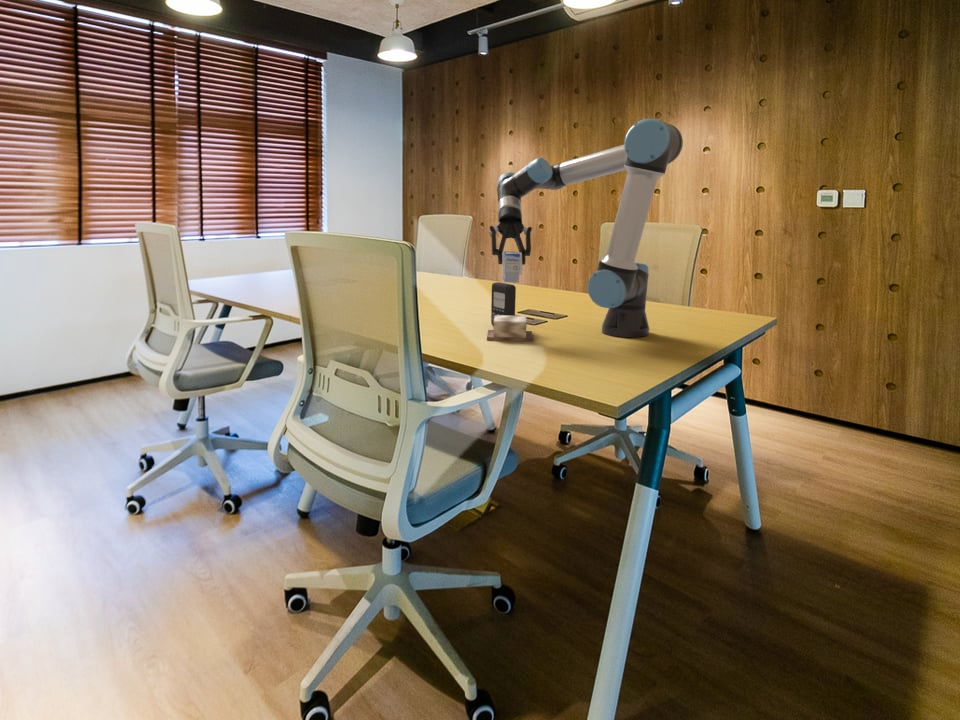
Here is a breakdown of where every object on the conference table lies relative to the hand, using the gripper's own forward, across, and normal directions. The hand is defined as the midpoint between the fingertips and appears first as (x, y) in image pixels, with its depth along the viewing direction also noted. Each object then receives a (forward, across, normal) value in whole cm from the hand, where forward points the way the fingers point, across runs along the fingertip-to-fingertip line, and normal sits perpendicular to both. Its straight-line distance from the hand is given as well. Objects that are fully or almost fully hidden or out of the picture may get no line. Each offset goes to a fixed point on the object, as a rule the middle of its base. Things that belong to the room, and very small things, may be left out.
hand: (512, 271), depth 182 cm
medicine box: (0, 0, -5) cm, 5 cm away
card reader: (+2, +1, -28) cm, 28 cm away
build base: (+12, 0, -17) cm, 21 cm away
